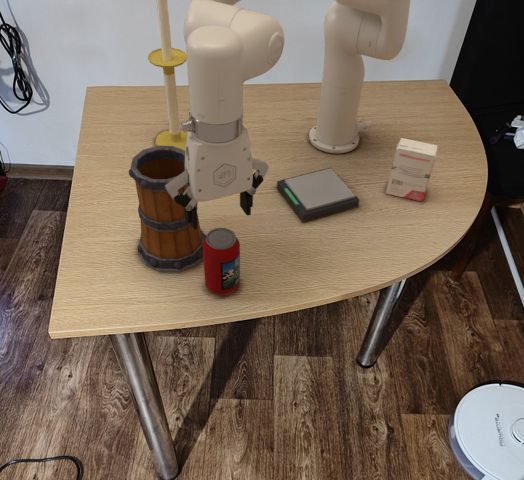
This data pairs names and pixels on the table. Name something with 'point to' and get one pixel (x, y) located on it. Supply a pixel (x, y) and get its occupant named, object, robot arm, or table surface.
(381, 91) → the table surface
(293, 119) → the table surface
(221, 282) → the beverage can
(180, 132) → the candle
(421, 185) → the ink box
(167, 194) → the mug
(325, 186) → the scale
